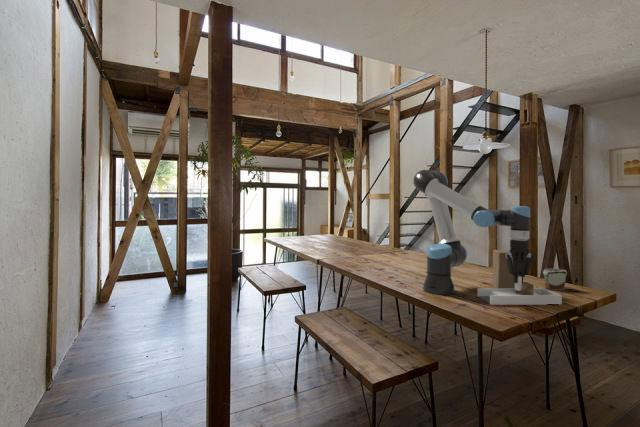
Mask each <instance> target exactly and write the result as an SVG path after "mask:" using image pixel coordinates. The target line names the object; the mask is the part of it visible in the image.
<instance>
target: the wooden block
mask: <svg viewBox="0 0 640 427" xmlns="http://www.w3.org/2000/svg"><path fill="white" fill-rule="evenodd" d="M509 251H510V249H504V250H503V249H493V250H492V276H491V279H492V280H491V286H492V287H493V288H515V283H514V282H513V277H514V276H513V275H512V274H510V273H509V270H508V265H507V260H506V258H505V256H504V254H508V253H509ZM511 258H512V262H513V257H511Z"/></svg>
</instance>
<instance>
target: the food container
mask: <svg viewBox="0 0 640 427" xmlns="http://www.w3.org/2000/svg"><path fill="white" fill-rule="evenodd" d="M542 274H543V275H544V285H545V286H544V287H545V288H544V289H546V290H549V291H557V290H559V291H561V290H565V288H566V281H567V280H566V278H567V275H568V272H567V270H566V269H561V268H544V269H543V271H542Z"/></svg>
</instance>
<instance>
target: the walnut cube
mask: <svg viewBox="0 0 640 427" xmlns="http://www.w3.org/2000/svg"><path fill="white" fill-rule="evenodd" d="M534 288H535V287H534V284H532V283H530V282H527V281H523V283H522V285H521V291H518V290H516V293H518V294H520V295H533V289H534Z"/></svg>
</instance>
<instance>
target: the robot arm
mask: <svg viewBox="0 0 640 427" xmlns="http://www.w3.org/2000/svg"><path fill="white" fill-rule="evenodd" d="M448 181H449V179H448V177H447V175H446V174H445V173H443V172H442V171H439V170H429V169H421V170H419V171H418V172H416V173H415V175H414V177H413V181H412V182H413V185H414V188H416V189H417V191H420V192H422V193H423V194H424V197H425V198H427V199H428V200H429V204H430V208H431V212H432V215H433V219H434V224H435V227H436V231H437V236H438V239H439V241H438V243H435V244H431V245H429V246H428V247H427V250H426V277H425V279H424V281H423V284H422V289H423V290H424V292H426V293H430V294H433V295H443V296H444V295H445V296H446V295H452V294H454V293H455V285H454V281H453V278H452V268H455V267H459V266H461V265H463V264H464V263H465V262H466V261H467V258H468V252H467V249H466V248H465V247H464V246H463V245H462V243H461V240H460V238H458V237H456V236H457V235H456V233H455V228H454V225H453V221H452V216H451V213H450V209H449V207H450V208H452V209H453V210H455V211H457V212H459V213H460V214H462V215H464V216H465V217H466V218H468V219H471V220H472V221H473V222H474V224H475V225H476V226H478V227H480V228H488V227H494V226H496V227H497V226H503V227H505V226H507V227H510V234H509V238H510V240H509V247H510V249H509V250H510V251H509V253H508V254H504V256H505V258H506V260H507V265H508V270H509V273H510V274H512V275H513V276H514V277H513V282H514V283H515V289H516V290H518V291H521V285H522V283H523V282H524V278H525V277H526V276H528V275H529V273H530V268H531V265H532V261H533V259H534V258H535V255H534V254H533V253H532V254H531V253H530V251H529V248H530V241H529V240H530V230H531V208H530V207H529V206H526V205H522V206H521V205H520V206H519V205H513V206H511V207H510V209H487V208H485V207H484V206H482V205H481V204H478V203H477V202H475V201H473V200H471V199H470V198H468V197H466V196H465V195H462V194H461V193H459V192H457V191H456V190H453V188H450V187H448V184H449V182H448ZM511 257H513V262H512V258H511Z"/></svg>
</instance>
